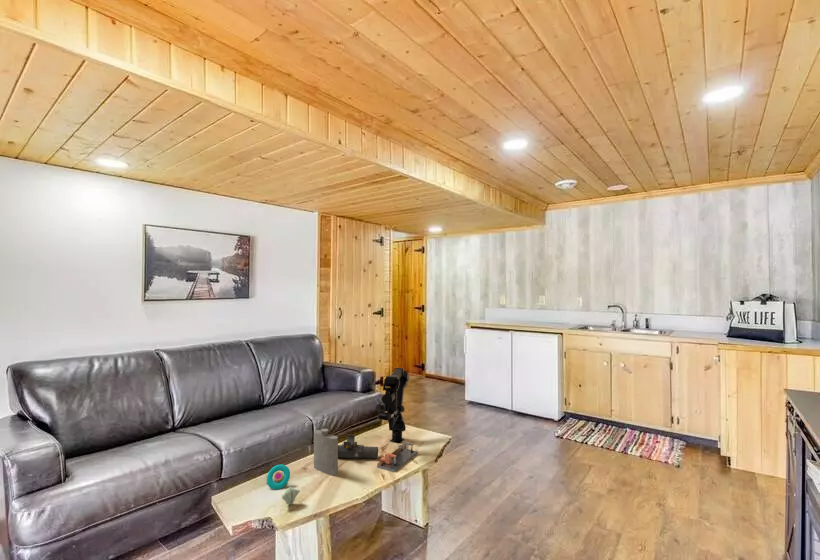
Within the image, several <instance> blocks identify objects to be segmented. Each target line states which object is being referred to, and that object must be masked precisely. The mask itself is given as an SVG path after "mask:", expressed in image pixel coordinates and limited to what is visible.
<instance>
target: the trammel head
mask: <svg viewBox="0 0 820 560" xmlns="http://www.w3.org/2000/svg"><path fill="white" fill-rule="evenodd" d="M391 453H392V452H386V453H384V456H383V457H381V458H380V461H385V463H387V464H390V463H391V461H392V457H394V464H396V455H393V454H391Z"/></svg>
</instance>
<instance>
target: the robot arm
mask: <svg viewBox="0 0 820 560" xmlns="http://www.w3.org/2000/svg"><path fill="white" fill-rule="evenodd" d="M383 380H384V381H383V386H382V391H385V392H384V393H383V395H382V396H381V402H382V403H377V404H376V405H375V410H376V411H377V412H380V413H378V414H377V419H378V420H381V421H387V422H388V430H389V431H391V439H389V442H392V443H396V444H401V443H402V442H404V441H406V440H405V438H403V432H405V431H406V430H407V429H406V428H407V427H406V423H405V419H404V417H403V414H402V413H404V412H405V406H404V404H403V403H404V396H405V394H404V393H405V389H406V387H407V386H408V383H409V381H410V375H409V373H408V372H407V371H406V370H405V369H404V368H402V367H395V368H394V371H393V372H392V373H391V374H388V375H387V376H385V378H384V379H383Z"/></svg>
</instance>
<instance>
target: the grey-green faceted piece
mask: <svg viewBox="0 0 820 560" xmlns="http://www.w3.org/2000/svg"><path fill="white" fill-rule="evenodd" d="M300 493H301V490H300V489H298V488H293V487H291V486H289V487H288V488H286V490H285V491H284V493H283V494H281V499H282V500H284V501H285V503H286V504H287V505H289V506H291V505H292V504H293V503H294V502H295V501H296V498H297V496H298V495H299V494H300Z"/></svg>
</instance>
